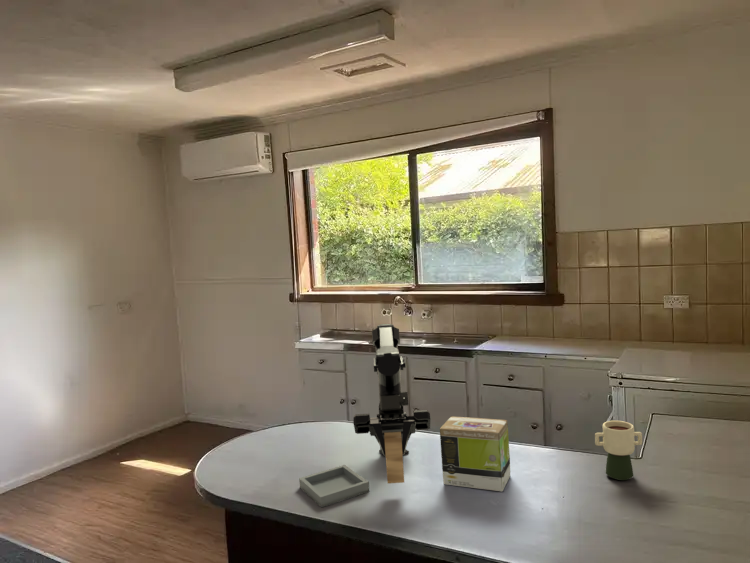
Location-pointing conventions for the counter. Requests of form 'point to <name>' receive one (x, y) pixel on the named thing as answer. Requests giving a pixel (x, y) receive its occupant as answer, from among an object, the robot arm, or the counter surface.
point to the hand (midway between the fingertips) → (394, 455)
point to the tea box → (475, 453)
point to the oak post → (394, 457)
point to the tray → (333, 485)
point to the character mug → (618, 448)
